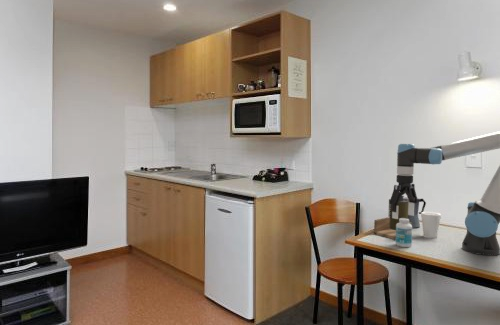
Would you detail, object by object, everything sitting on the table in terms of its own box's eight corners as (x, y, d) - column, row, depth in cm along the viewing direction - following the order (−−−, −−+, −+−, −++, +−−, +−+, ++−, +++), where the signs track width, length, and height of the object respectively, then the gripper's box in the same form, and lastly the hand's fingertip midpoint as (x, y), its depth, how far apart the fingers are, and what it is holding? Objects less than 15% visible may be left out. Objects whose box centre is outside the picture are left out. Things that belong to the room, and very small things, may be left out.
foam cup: (426, 239, 181) (426, 215, 180) (417, 234, 190) (418, 211, 190) (443, 239, 181) (444, 215, 180) (434, 234, 190) (434, 211, 190)
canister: (404, 226, 208) (405, 194, 206) (410, 231, 197) (411, 197, 196) (386, 226, 209) (386, 194, 208) (391, 230, 198) (392, 197, 197)
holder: (412, 237, 185) (413, 222, 184) (399, 240, 178) (400, 225, 178) (385, 230, 199) (386, 217, 198) (372, 233, 192) (373, 219, 192)
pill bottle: (392, 244, 173) (392, 218, 172) (403, 242, 175) (404, 216, 174) (403, 248, 166) (404, 221, 165) (415, 246, 168) (415, 220, 167)
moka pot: (404, 223, 217) (404, 192, 216) (429, 227, 205) (430, 195, 204) (396, 225, 211) (397, 193, 210) (422, 230, 199) (423, 196, 198)
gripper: (412, 172, 178) (410, 212, 179) (382, 175, 164) (381, 218, 166) (426, 174, 172) (424, 215, 173) (396, 176, 158) (395, 221, 160)
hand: (403, 216), depth 169 cm, fingers open, 13 cm apart
